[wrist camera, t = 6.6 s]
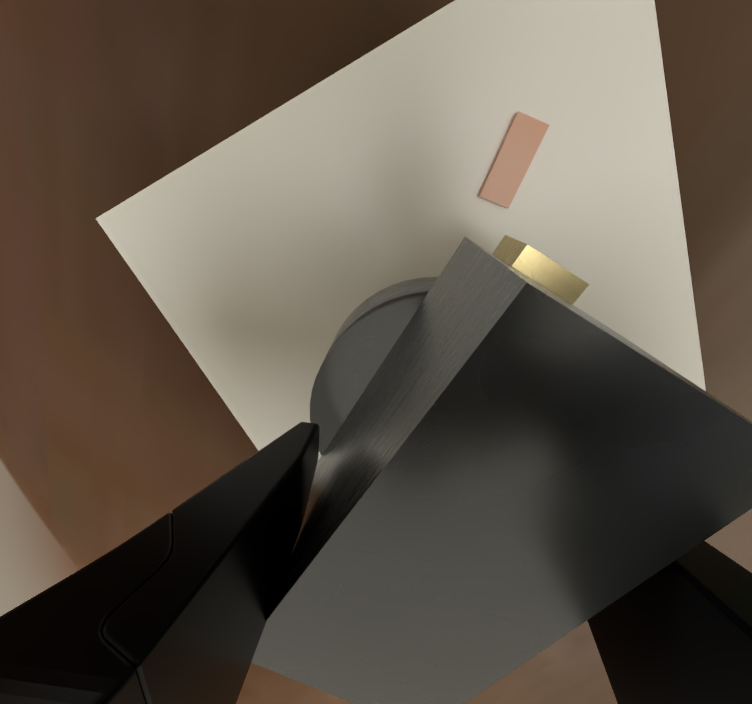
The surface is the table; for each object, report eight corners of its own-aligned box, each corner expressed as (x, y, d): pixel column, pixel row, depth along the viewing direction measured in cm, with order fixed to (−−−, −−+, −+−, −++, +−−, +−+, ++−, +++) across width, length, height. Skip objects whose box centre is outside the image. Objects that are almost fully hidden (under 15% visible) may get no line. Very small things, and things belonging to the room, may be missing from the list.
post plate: (120, 216, 14) (17, 224, 10) (613, -78, 10) (737, -241, 6) (333, 531, 20) (316, 606, 16) (692, 433, 16) (778, 505, 12)
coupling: (444, 506, 13) (474, 751, 7) (284, 425, 12) (175, 633, 6) (624, 312, 10) (934, 481, 4) (422, 181, 9) (452, 162, 3)
